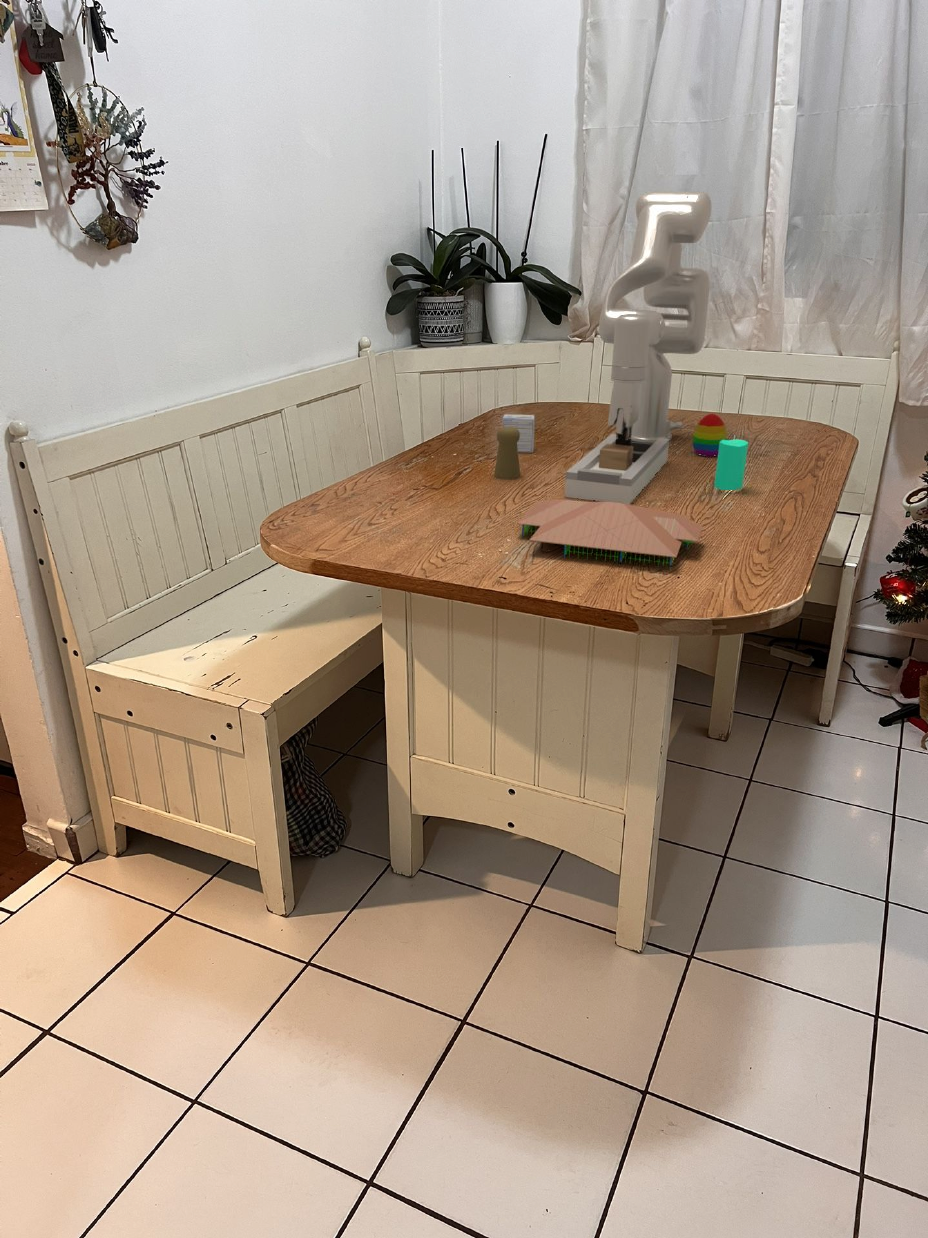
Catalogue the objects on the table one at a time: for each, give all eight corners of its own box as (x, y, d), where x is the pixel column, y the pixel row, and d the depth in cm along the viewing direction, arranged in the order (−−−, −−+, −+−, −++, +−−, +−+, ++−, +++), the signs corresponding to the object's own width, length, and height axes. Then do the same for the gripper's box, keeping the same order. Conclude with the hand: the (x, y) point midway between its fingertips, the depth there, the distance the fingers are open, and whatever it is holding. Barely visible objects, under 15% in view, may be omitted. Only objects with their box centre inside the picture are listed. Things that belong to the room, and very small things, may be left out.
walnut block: (605, 460, 209) (607, 443, 207) (632, 463, 206) (633, 446, 205) (598, 467, 203) (599, 449, 202) (625, 470, 201) (626, 452, 200)
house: (690, 576, 157) (696, 531, 154) (504, 554, 167) (505, 510, 163) (703, 534, 177) (708, 493, 174) (536, 516, 186) (537, 477, 183)
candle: (744, 487, 204) (751, 433, 199) (739, 494, 199) (746, 439, 194) (716, 483, 207) (723, 430, 202) (711, 490, 202) (718, 436, 197)
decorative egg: (713, 449, 235) (717, 409, 231) (731, 456, 228) (736, 416, 224) (684, 451, 233) (689, 411, 229) (702, 459, 226) (707, 418, 222)
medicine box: (533, 448, 234) (535, 414, 231) (533, 453, 230) (534, 418, 227) (502, 447, 235) (503, 413, 231) (501, 452, 231) (502, 417, 227)
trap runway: (610, 455, 229) (612, 431, 226) (667, 461, 224) (669, 436, 221) (564, 496, 197) (566, 469, 194) (629, 505, 192) (631, 476, 189)
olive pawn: (523, 473, 213) (525, 425, 209) (516, 480, 208) (517, 431, 204) (498, 470, 215) (499, 423, 211) (490, 477, 210) (491, 429, 205)
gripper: (620, 367, 209) (614, 447, 217) (603, 377, 197) (597, 462, 205) (653, 369, 207) (646, 450, 214) (637, 380, 194) (630, 465, 202)
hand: (622, 455), depth 209 cm, fingers closed
